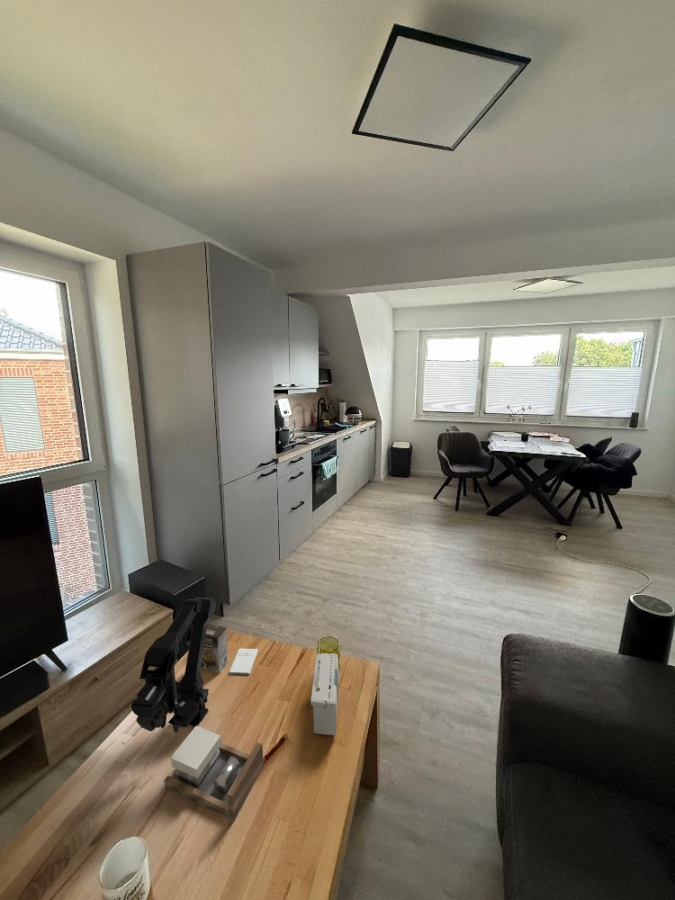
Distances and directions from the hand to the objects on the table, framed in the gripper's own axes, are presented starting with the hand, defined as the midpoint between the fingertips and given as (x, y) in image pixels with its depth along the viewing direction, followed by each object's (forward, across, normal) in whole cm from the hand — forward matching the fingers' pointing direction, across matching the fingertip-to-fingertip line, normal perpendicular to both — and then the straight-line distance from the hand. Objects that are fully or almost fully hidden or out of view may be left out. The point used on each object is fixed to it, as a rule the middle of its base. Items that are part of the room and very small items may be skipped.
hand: (170, 729), depth 105 cm
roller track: (+10, +16, 0) cm, 18 cm away
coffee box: (+10, -12, +33) cm, 36 cm away
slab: (+5, +9, 0) cm, 11 cm away
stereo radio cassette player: (+10, +37, +31) cm, 49 cm away
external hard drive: (+11, -2, +39) cm, 40 cm away
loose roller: (+9, +20, 0) cm, 22 cm away
